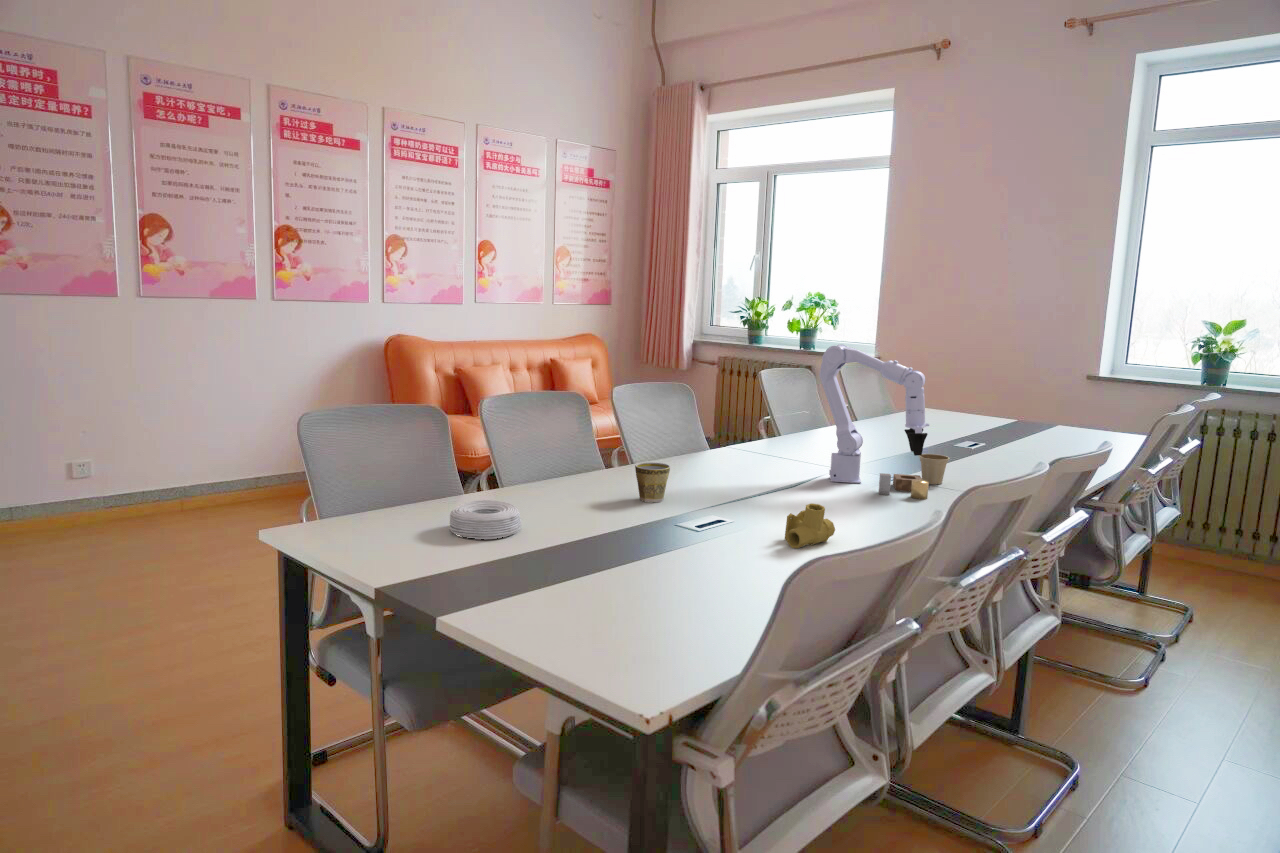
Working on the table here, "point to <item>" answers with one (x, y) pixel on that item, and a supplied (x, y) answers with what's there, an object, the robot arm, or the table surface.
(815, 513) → the tan pipe tee fitting
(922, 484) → the round bit
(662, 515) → the table surface
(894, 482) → the block
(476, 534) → the cable
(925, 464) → the flower pot
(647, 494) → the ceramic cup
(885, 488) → the square bit
